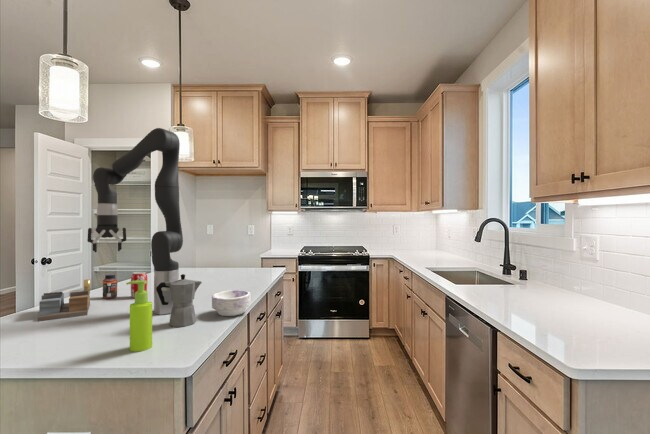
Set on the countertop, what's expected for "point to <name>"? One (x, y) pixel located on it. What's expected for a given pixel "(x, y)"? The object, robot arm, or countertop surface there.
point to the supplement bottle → (109, 286)
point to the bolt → (86, 287)
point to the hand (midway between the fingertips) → (107, 251)
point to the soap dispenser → (140, 319)
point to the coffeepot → (180, 301)
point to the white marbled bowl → (231, 302)
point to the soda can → (134, 287)
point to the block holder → (63, 305)
